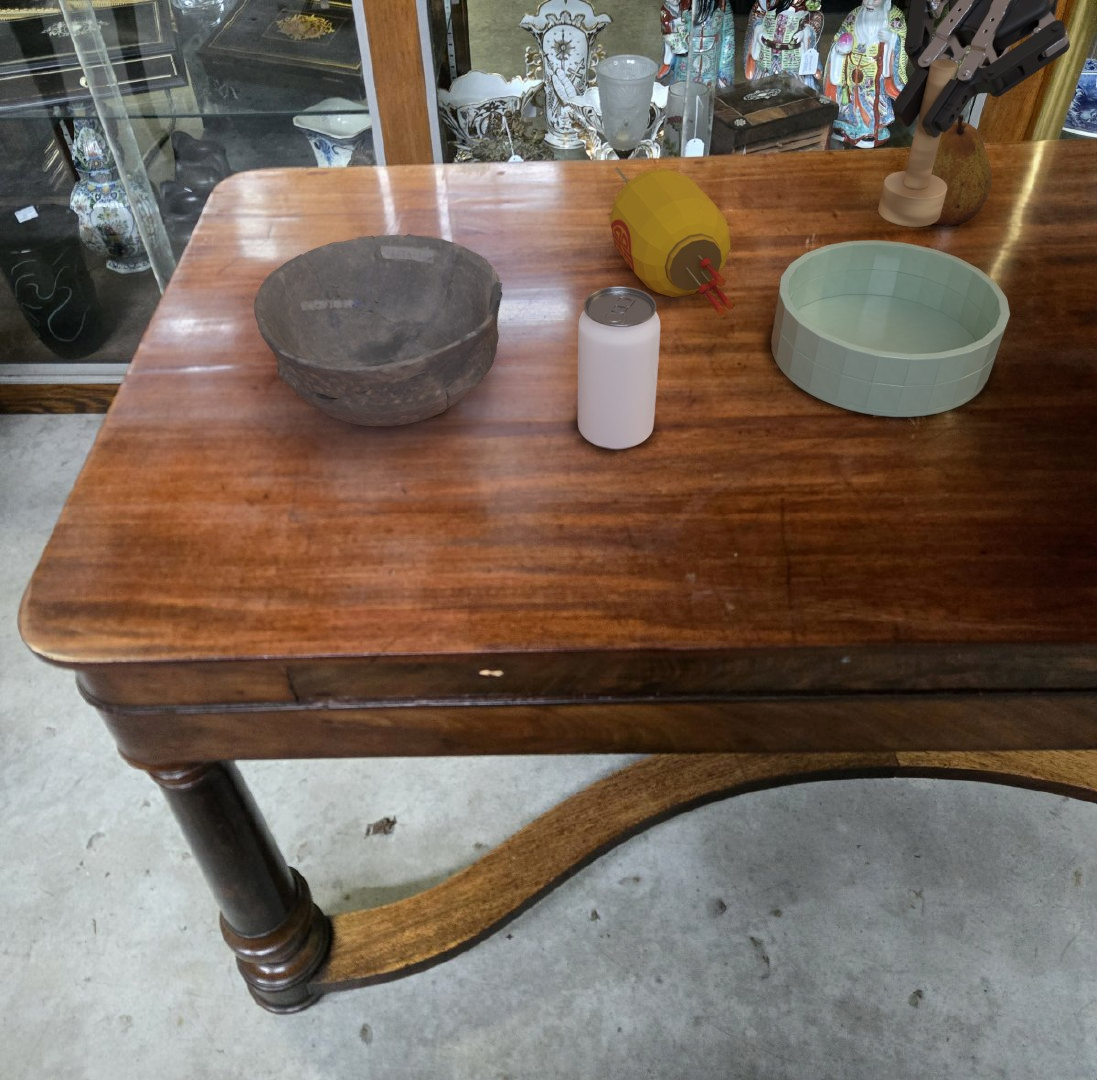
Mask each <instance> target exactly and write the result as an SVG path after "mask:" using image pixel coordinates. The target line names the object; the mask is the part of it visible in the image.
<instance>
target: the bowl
mask: <svg viewBox="0 0 1097 1080" xmlns="http://www.w3.org/2000/svg"><path fill="white" fill-rule="evenodd" d="M502 290H503V282H501V281H500V277H499V275H498V272H497V270H496V269H495V268H494V267H493V266H492V265H491V263H489V261H488V259H486V258H485V257H483V256H481V254H479V253H476V252H475V251H472V250H471V249H469V248H468V247H467V248H466V247H465V246H462V245H461V244H459V243H457V242H453V241H450V240H446V239H443V238H439V237H438V238H437V237H433V236H426V235H425V236H424V235H415V234H410V233H408V234H405V235H404V234H387V235H385V234H383V235H382V234H380V235H376V236H374V235H367V236H359V237H356V238H351V239H347V240H341V241H333V242H330V243H327V244H324V245H321V246H318V247H316V248H313V249H310V250H308V251H306V252H305V253H303V254H302V253H301V254H298V255H297V256H295V257H293V258H292V259H290V260H288V261H286V262H285V263H283V264H282V265H280V266H279V267H278V268H276V269H275V270H272V271H271V272H270V273H269V274H268V275H267V276H266V278H265V279H264V280H263V282H262V284H261V285H260V287H259V289H258V290H257V294H256V296H255V299H254V305H253V312H254V316H255V320H256V322H257V328H258V331H259V333H260V335H261V337H262V339H263V340H264V342H265V343H266V344H267V346H268V347H269V349H270V350H271V351H272V352H273V354H274V356H275V358H276V363H277V374H278V377H279V378H280V380H281V381H282V382H283V383H285V384H286V385H288V386H289V387H290V389H291V390H292V391H293V392H295V394H296V395H297V396H299V398H301V399H303V400H304V401H305V402H307V403H308V405H311V406H312V407H314V408H315V409H317V410H318V411H320V412H322V413H323V414H325V415H327V416H329V417H331V418H334V419H337V420H339V421H343V422H345V423H349V424H354V425H360V426H365V427H393V426H403V425H408V424H413V423H416V422H420V421H424V420H429V419H430V418H432V417H436V416H437V415H439V414H442V413H444V412H445V411H447V410H448V409H449V408H452V407H453V406H455V405H456V404H458V403H459V402H460V401H461V400H463V399H464V398H465V397H467V395H468V394H470V393H471V392H472V391H473V390H474V389H475V388H476V387H477V386H479V384H481V382H482V381H483V379H484V378H485V377H486V376H487V374H488V373H489V371H490V370H491V368H492V366H493V364H494V362H495V358H496V356H497V350H498V343H499V339H500V337H499V336H500V334H499V329H498V327H499V325H498V324H499V323H498V321H499V320H498V319H499V312H500V309H501V308H500V307H501V302H502V298H503V291H502Z"/></svg>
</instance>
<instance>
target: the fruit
mask: <svg viewBox="0 0 1097 1080" xmlns="http://www.w3.org/2000/svg"><path fill="white" fill-rule="evenodd" d="M931 174H932V175H935V176H937V177H939V178H940V179H942V180H943V181H944V182H945V183H946V185H947V192H946V196H945V200H944V204H943V207H942V211H941V215H940V218H939V219H938V221H936V222H935V223H934V224H935V225H938V226H944V227H945V226H957V225H962V224H965V223H967V222H968V221H969V220H971V219H972V218H974V217H975V216H976V215H977V214H978V213H979V212H980V211H981V209H982V207H983V206H984V204H985V203H986V201H987V199H988V197H989V194H990V191H991V189H992V184H993V183H992V181H993V170H992V166H991V161H990V159H989V156H988V153H987V151H986V148H985V143H984V140H983V137H982V135H981V133H980V131H979V130H978V129H977V128H976V127H974V126H973V125H972V124H971V123H969V122H965V121H964V115H963V114H960V115H959V116H958V118H957V120H956V121H955V122H954V124H953V125H952V127H951V128H950V129H949V130H947V131H946V132H945V133H944V132H942V134H941V138H940V142H939V146H938V150H937V154H936V158H935V161H934V165H933V169H932V173H931Z"/></svg>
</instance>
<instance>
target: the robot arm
mask: <svg viewBox="0 0 1097 1080" xmlns="http://www.w3.org/2000/svg"><path fill="white" fill-rule="evenodd" d="M1059 1H1060V0H910V4H909V5H910V6H909V12H908V18H907V26H906V33H905V39H904V45H903V46H904V47H903V48H904V51H905V54H906V55H907V58H908V60H909V61H910V63H911V66H912V67H913V69H914V71H913V72H912V73H911V76H910V77H909V78H908V80H907V82H906V83H905V84H904V86H903V88H902V89H901V90H900V92H899V94H898V95H897V96H896V98H895V99H894V104H893V108H894V111H893V115H894V117H895V119H896V121H897V123H898V124H899V125H901V126H904V127H906V128H909V127H910V126H912V124H913V123H914V122H915V121H916V118H918V116H919V112H920V108H921V104H922V99H923V95H924V91H925V86H926V82H927V78H928V74H929V69H930V65H931V62H932V61H933V60H936V59H948V60H952V61H955V62H957V61H960V60H961V59H962V58H963V57H964V56H965V54H966V53H967V52H968V51H969V52H968V53H967V55H966V57H965V59H964V60H963V62H962V64H961V65H960V67H959V68H958V70H957V74H956V78H955V80H953V79H950V80H949V82H948V83H947V85H946V86H945V87H944V89H943V90H942V92H941V93H940V95H939V96H938V98H937V99H936V101H935V102H934V104H933V105H932V107H931V108H930V110H929V111H928V112H927V114H926V115H925V117H924V119H923V121H922V127H923V128H924V130H925V132H926V134H927V135H929V136H932V137H934V138H936V137H938V136H939V135H940V133H941V132H944V133H945V132H946V131H947V130H949V129H950V128H951V127H952V125H953V124H954V122H956V121H957V120H958V116H959V115H962V114H961V113H962V112H963V111H964V109H965V108H966V106H967V105H968V103H969V102H970V100H971V99H972V98H975V97H976V96H978V95H979V94H990V96H991V97H993V98H999V97H1001V96H1003V95H1004V94H1006V93H1007V92H1009V91H1011V90H1012V89H1014V88H1015V87H1016V86H1018V85H1020V84H1021V83H1022V82H1025V81H1026V80H1027V79H1028V78H1030V77H1031V76H1033V75H1034V74H1036V73H1037V72H1039V71H1040V70H1042V69H1043V68H1045V67H1046V66H1048V65H1049V64H1051V63H1052V62H1053V61H1056V60H1057V59H1058V58H1059V57H1061V56H1062V55H1063V56H1064V54H1066V53H1067V52H1068V51H1069V50H1070V48H1071V42H1070V36H1069V34H1068V29H1067V28H1066V25H1065V22H1064V20H1062V19H1061V20H1060V19H1057V18H1056V17H1055V16H1056V14H1057V10H1058V9H1057V7H1058V3H1059ZM947 4H948V13H947V14H946V16H945V17H944V19H942V21H941V23H940V24H939V25H938V26H937V28H936V29H935V32H934V25H935V20H938V19H940V18H941V14H942V12H943V10H944V8H945V6H946V5H947ZM933 32H934V37H933ZM1028 36H1029V37H1028ZM1027 37H1028V38H1027ZM1025 38H1026V39H1025ZM1023 39H1025V40H1024V41H1022V40H1023ZM1019 41H1022V42H1020V43H1019V44H1018V45H1016V46H1015V47H1013V48H1012V49H1010V48H1011V46H1012V45H1015V44H1016V43H1017V42H1019Z"/></svg>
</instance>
